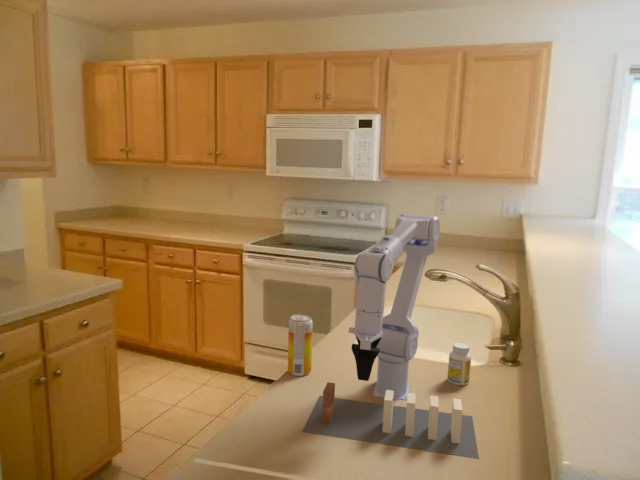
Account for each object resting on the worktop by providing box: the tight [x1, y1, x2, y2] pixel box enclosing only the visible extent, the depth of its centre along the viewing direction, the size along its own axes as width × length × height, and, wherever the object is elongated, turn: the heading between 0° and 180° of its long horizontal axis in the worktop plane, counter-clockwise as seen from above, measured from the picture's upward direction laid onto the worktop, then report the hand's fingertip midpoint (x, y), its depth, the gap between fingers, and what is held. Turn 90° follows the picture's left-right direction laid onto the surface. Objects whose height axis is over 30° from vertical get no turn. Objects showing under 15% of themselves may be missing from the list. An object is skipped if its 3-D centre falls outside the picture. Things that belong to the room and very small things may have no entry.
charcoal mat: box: [301, 395, 480, 460], centre depth 102 cm, size 16×34×1 cm, turn 77°
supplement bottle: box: [447, 342, 472, 386], centre depth 123 cm, size 5×5×10 cm
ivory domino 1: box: [382, 390, 394, 433], centre depth 100 cm, size 2×4×7 cm, turn 167°
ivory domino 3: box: [428, 395, 440, 440], centre depth 98 cm, size 2×4×7 cm, turn 167°
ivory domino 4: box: [451, 397, 463, 444], centre depth 97 cm, size 2×4×7 cm, turn 167°
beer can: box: [287, 314, 314, 377], centre depth 125 cm, size 6×6×15 cm
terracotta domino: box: [322, 381, 336, 424], centre depth 102 cm, size 2×4×7 cm, turn 167°
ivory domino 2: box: [405, 392, 417, 437], centre depth 99 cm, size 2×4×7 cm, turn 167°
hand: (364, 373), depth 102 cm, fingers open, 7 cm apart
